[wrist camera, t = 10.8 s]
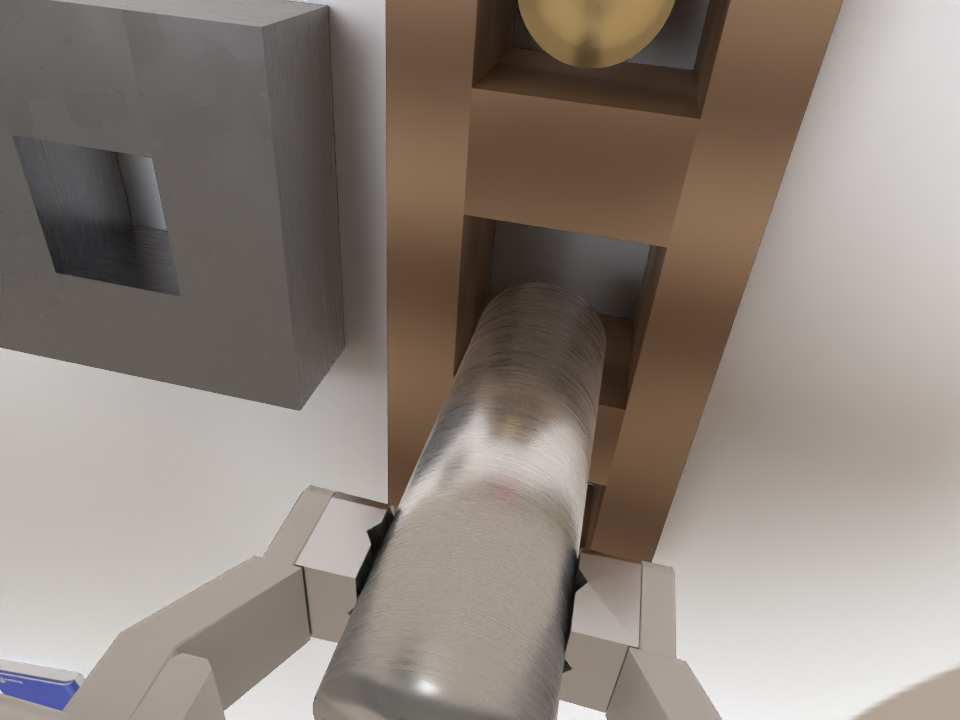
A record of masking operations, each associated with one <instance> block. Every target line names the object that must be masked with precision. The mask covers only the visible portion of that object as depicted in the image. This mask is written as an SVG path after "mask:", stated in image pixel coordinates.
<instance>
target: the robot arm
mask: <svg viewBox="0 0 960 720" xmlns="http://www.w3.org/2000/svg"><path fill="white" fill-rule="evenodd" d="M393 517H394V506H391V505H388V504H384V503H380V502H376V501H372V500H368V499H364V498H360V497H356V496H353V495H349V494H345V493H341V492H336V491H332V490H328V489H323V488H319V487H315V486H311V485H310V486H309V487H308V488H307V489H305V490H304V491H303V492H302V494H301V495H300V497H299V499H298V500H297V502H296V503H295V505H294V507H293V508H292V510H291V512H290V513H289V515H288V517H287V518H286V520H285V521H284V523H283V525H282V526H281V528H280V530H279V531H278V533H277V534H276V536H275V538H274V539H273V541H272V543H271V544H270V546H269V547H268V549H267V551H266V552H265V554H264V556H263V557H257V556H253V557H251V558H250V559H248V560H246V561H244V562H243V563H241V564H239V565H237V566H236V567H234V568H232V569H231V570H229V571H227V572H225V573H224V574H222V575H220V576H218V577H217V578H215V579H213V580H211V581H210V582H208V583H206V584H204V585H203V586H201V587H199V588H197V589H196V590H194V591H192V592H191V593H189V594H187V595H185V596H184V597H182V598H180V599H178V600H177V601H175V602H173V603H171V604H170V605H168V606H166V607H164V608H163V609H161V610H159V611H157V612H156V613H154V614H152V615H151V616H149V617H147V618H145V619H144V620H142V621H140V622H138V623H137V624H135V625H133V626H131V627H130V628H128V629H126V630H124V631H123V632H121V633H120V634H119V635H118V637H117V638H116V639H115V641H114V642H113V643H112V645H111V646H110V647H109V649H108V650H107V651H106V653H105V654H104V655H103V657H102V658H101V659H100V661H99V662H98V663H97V665H96V666H95V667H94V669H93V670H92V671H91V673H90V674H89V676H88V677H87V678H86V680H85V681H84V682H83V684H82V685H81V686H80V688H79V689H78V690H77V692H76V693H75V694H74V696H73V697H72V698H71V700H70V701H69V702H68V704H67V705H66V706H65V708H64V709H63V710H62V711H60V710H57V709H53V708H50V707H46V706H43V705H40V704H36V703H33V702H29V701H26V700H22V699H19V698H15V697H12V696H9V695H5V694H2V693H0V720H225V716H224V712H223V711H224V710H226V709H227V708H228V707H229V706H230V705H232V704H233V703H234V702H235V701H236V700H238V699H239V698H240V697H241V696H243V695H244V694H245V693H246V692H247V691H249V690H250V689H251V688H252V687H253V686H255V685H256V684H257V683H258V682H260V681H261V680H262V679H263V678H264V677H266V676H267V675H268V674H269V673H270V672H272V671H273V670H274V669H275V668H277V667H278V666H279V665H280V664H281V663H283V662H284V661H285V660H286V659H287V658H289V657H290V656H291V655H292V654H294V653H295V652H296V651H297V650H298V649H300V648H301V647H302V646H303V645H305V644H306V643H307V642H308V641H309V640H310V637H315V638H319V639H324V640H328V641H332V642H337V643H339V641H340V638H341V636H342V634H343V631H344V629H345V627H346V625H347V622H348V620H349V618H350V615H351V613H352V611H353V609H354V606H355V604H356V602H357V599H358V597H359V595H360V593H361V590H362V588H363V586H364V583H365V581H366V579H367V577H368V574H369V572H370V570H371V567H372V565H373V563H374V561H375V558H376V556H377V554H378V551H379V549H380V547H381V545H382V542H383V540H384V538H385V535H386V533H387V531H388V529H389V526H390V524H391V522H392V519H393ZM559 700H563V701H566V702H570V703H573V704H577V705H580V706H584V707H587V708H591V709H594V710H598V711H601V712H605V713H606V715H605V716H606V718H607V720H722V718H721V717H720V715H719V713H718V712H717V710H716V709H715V707H714V705H713V704H712V702H711V701H710V699H709V697H708V696H707V694H706V693H705V691H704V689H703V688H702V686H701V685H700V683H699V681H698V680H697V678H696V677H695V675H694V674H693V672H692V670H691V669H690V667H689V666H688V664H687V662H686V661H683V660H680V659H676V619H675V573H674V571H673V568H672V567H668V566H664V565H659V564H655V563H650V562H646V561H640V560H639V559H635V558H630V557H625V556H620V555H616V554H611V553H606V552H602V551H597V550H592V549H587V548H583V547H581V548H580V551H579V554H578V558H577V565H576V572H575V579H574V586H573V600H572V607H571V612H570V617H569V624H568V632H567V640H566V648H565V660H564V668H563V675H562V683H561V690H560V698H559Z"/></svg>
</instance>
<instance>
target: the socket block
mask: <svg viewBox="0 0 960 720" xmlns="http://www.w3.org/2000/svg"><path fill="white" fill-rule="evenodd" d="M116 152H120V153H126V154H133V155H139V156H145V157H151V158H152V159H153V164H154V169H155V173H156V178H157V183H158V188H159V193H160V198H161V203H162V207H163V212H164V217H165V222H166V227H167V231H162V230H157V229H151V228H145V227H140V226H134V225H133V223H132V219H131V215H130V211H129V207H128V202H127V198H126V194H125V190H124V185H123V181H122V177H121V173H120V168H119V164H118V160H117V156H116ZM0 347H1V348H5V349H10V350H15V351H20V352H24V353H29V354H34V355H38V356H43V357H48V358H53V359H57V360H62V361H67V362H72V363H76V364H81V365H86V366H91V367H95V368H100V369H105V370H110V371H114V372H119V373H124V374H129V375H133V376H138V377H143V378H148V379H152V380H157V381H162V382H167V383H171V384H176V385H181V386H186V387H190V388H195V389H200V390H205V391H209V392H214V393H219V394H224V395H228V396H233V397H238V398H242V399H247V400H252V401H257V402H261V403H266V404H271V405H276V406H280V407H285V408H290V409H295V410H299V411H300V410H301V409H302V407H303V406H304V405H305V403H306V402H307V400H308V399H309V398H310V396H311V395H312V393H313V392H314V391H315V389H316V388H317V386H318V385H319V384H320V382H321V381H322V379H323V378H324V376H325V375H326V374H327V372H328V371H329V369H330V368H331V367H332V365H333V364H334V362H335V361H336V360H337V358H338V357H339V355H340V354H341V353H342V351H343V350H344V348H345V345H344V325H343V305H342V284H341V264H340V243H339V223H338V203H337V182H336V162H335V141H334V121H333V101H332V80H331V60H330V39H329V19H328V6H327V5H319V4H311V3H303V2H294V1H286V0H0Z"/></svg>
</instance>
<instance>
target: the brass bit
mask: <svg viewBox="0 0 960 720" xmlns="http://www.w3.org/2000/svg"><path fill="white" fill-rule="evenodd" d="M674 3H675V0H518V6H519V10H520V13H521V16H522V19H523V21H524V23H525V25H526V27H527V29H528V31H529V32H530V34H531V36H532V37H533V38H534V40H535V41H536V42H537V43H538V45H539V46H540V47H541V48H543V49H544V50H545V51H546V52H547V53H548V54H550V55H551V56H552V57H554V58H556V59H557V60H559V61H561V62H563V63H566V64H569V65H572V66H576V67H581V68H603V67H608V66H612V65H615V64H618V63H621V62H623V61H625V60H627V59H629V58H631V57H633V56H634V55H636V54H637V53H639V52H640V51H641V50H643V49H644V48H645V47H646V46H647V45H648V44H649V43H650V42H651V41H652V40H653V39H654V38H655V37H656V35H657V34H658V33H659V31H660V30H661V29H662V27H663V26H664V24H665V22H666V21H667V19H668V17H669V15H670V13H671V10H672V8H673V5H674Z"/></svg>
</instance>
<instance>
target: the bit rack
mask: <svg viewBox="0 0 960 720" xmlns="http://www.w3.org/2000/svg"><path fill="white" fill-rule="evenodd" d="M842 2H843V0H710V2H709V6H708V10H707V14H706V18H705V22H704V27H703V31H702V35H701V39H700V43H699V47H698V52H697V56H696V60H695V64H694V68H693V70H686V69H678V68H670V67H662V66H654V65H646V64H638V63H630V62H621V63H618V64H615V65H612V66H608V67H603V68H581V67H576V66H572V65H569V64H566V63H563V62H561V61H559V60H557V59H556V58H554V57H552V56H551V55H550V54H548V53H547V52H543V51H535V50H527V49H519V48H513V38H514V28H515V17H516V7H517V0H386V174H387V370H388V505H391V506H394V515H395V513H396V510H397V508H398V506H399V503H400V501H401V499H402V497H403V494H404V492H405V490H406V487H407V485H408V483H409V481H410V478H411V476H412V474H413V471H414V469H415V467H416V465H417V462H418V460H419V458H420V455H421V453H422V451H423V449H424V446H425V444H426V442H427V439H428V437H429V435H430V433H431V430H432V428H433V426H434V423H435V421H436V419H437V417H438V414H439V412H440V410H441V407H442V405H443V403H444V401H445V398H446V396H447V394H448V391H449V389H450V387H451V385H452V382H453V380H454V378H455V375H456V373H457V371H458V369H459V366H460V364H461V362H462V359H463V357H464V355H465V353H466V350H467V348H468V346H469V343H470V341H471V339H472V337H473V334H474V332H475V330H476V327H477V325H478V323H479V321H480V318H481V316H482V314H483V312H484V310H485V308H486V307H487V305H488V304H489V303H490V302H491V301H492V300H493V299H494V298H495V297H496V296H494V295H489V293H490V282H491V272H492V261H493V250H494V240H495V229H496V220H500V221H506V222H513V223H519V224H525V225H531V226H537V227H543V228H550V229H556V230H562V231H568V232H574V233H580V234H587V235H593V236H599V237H605V238H611V239H617V240H624V241H630V242H636V243H642V244H648V245H651V247H650V251H649V255H648V260H647V264H646V268H645V272H644V276H643V280H642V285H641V289H640V293H639V297H638V301H637V305H636V310H635V314H634V318H633V320H629V319H623V318H618V317H612V316H606V315H601V314H598V316H599V317H600V319H601V321H602V324H603V326H604V329H605V334H606V350H605V358H604V365H603V373H602V381H601V388H600V396H599V403H598V411H597V418H596V426H595V433H594V441H593V449H592V456H591V464H590V471H589V479H588V482H591V483H594V484H593V487H591V486H587V494H586V501H585V509H584V516H583V524H582V532H581V539H580V547H579V551H580V548H581V547H583V548H587V549H592V550H597V551H602V552H606V553H611V554H616V555H620V556H625V557H630V558H635V559H639V560H640V561H646V562H650V563H651V562H652V559H653V556H654V553H655V550H656V547H657V545H658V542H659V539H660V536H661V533H662V530H663V527H664V524H665V521H666V518H667V515H668V512H669V509H670V506H671V504H672V501H673V498H674V495H675V492H676V489H677V486H678V483H679V480H680V477H681V474H682V471H683V468H684V465H685V462H686V460H687V457H688V454H689V451H690V448H691V445H692V442H693V439H694V436H695V433H696V430H697V427H698V424H699V421H700V419H701V416H702V413H703V410H704V407H705V404H706V401H707V398H708V395H709V392H710V389H711V386H712V383H713V380H714V377H715V375H716V372H717V369H718V366H719V363H720V360H721V357H722V354H723V351H724V348H725V345H726V342H727V339H728V336H729V334H730V331H731V328H732V325H733V322H734V319H735V316H736V313H737V310H738V307H739V304H740V301H741V298H742V295H743V293H744V290H745V287H746V284H747V281H748V278H749V275H750V272H751V269H752V266H753V263H754V260H755V257H756V254H757V251H758V249H759V246H760V243H761V240H762V237H763V234H764V231H765V228H766V225H767V222H768V219H769V216H770V213H771V210H772V208H773V205H774V202H775V199H776V196H777V193H778V190H779V187H780V184H781V181H782V178H783V175H784V172H785V169H786V166H787V164H788V161H789V158H790V155H791V152H792V149H793V146H794V143H795V140H796V137H797V134H798V131H799V128H800V125H801V123H802V120H803V117H804V114H805V111H806V108H807V105H808V102H809V99H810V96H811V93H812V90H813V87H814V84H815V82H816V79H817V76H818V73H819V70H820V67H821V64H822V61H823V58H824V55H825V52H826V49H827V46H828V43H829V40H830V38H831V35H832V32H833V29H834V26H835V23H836V20H837V17H838V14H839V11H840V8H841V5H842Z"/></svg>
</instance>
